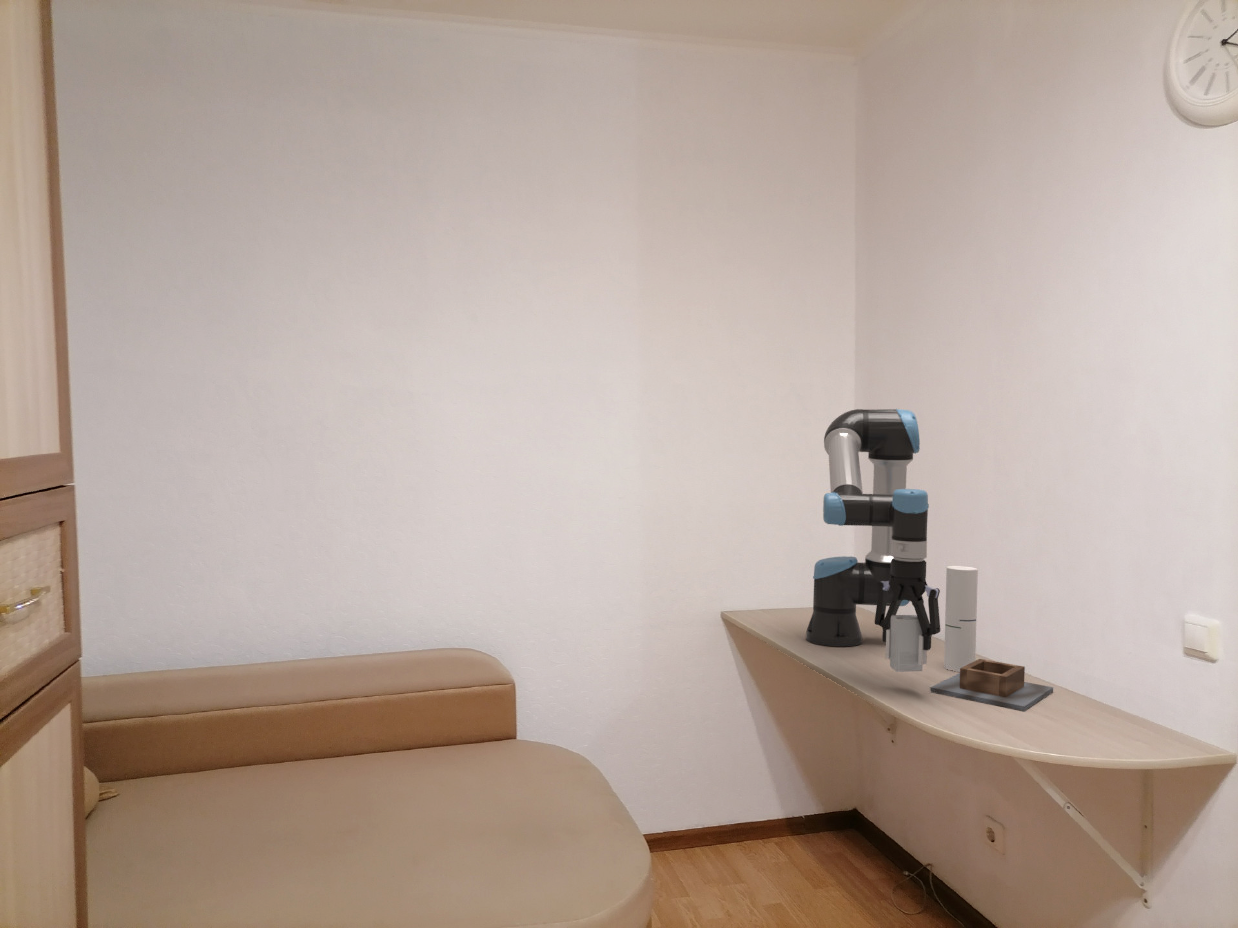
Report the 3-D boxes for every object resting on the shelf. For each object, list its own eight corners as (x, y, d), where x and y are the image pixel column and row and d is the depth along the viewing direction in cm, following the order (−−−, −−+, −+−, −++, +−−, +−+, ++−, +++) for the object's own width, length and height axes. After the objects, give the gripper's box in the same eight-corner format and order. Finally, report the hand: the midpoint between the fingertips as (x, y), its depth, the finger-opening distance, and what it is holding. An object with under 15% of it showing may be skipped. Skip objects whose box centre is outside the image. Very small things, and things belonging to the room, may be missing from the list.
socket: (930, 691, 197) (930, 667, 197) (964, 674, 212) (964, 652, 212) (1024, 711, 184) (1024, 684, 184) (1053, 691, 199) (1053, 667, 198)
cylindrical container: (977, 673, 213) (980, 570, 213) (946, 671, 215) (949, 569, 214) (972, 665, 220) (974, 566, 220) (941, 664, 222) (944, 565, 221)
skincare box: (914, 666, 200) (916, 613, 199) (923, 672, 195) (924, 618, 195) (888, 667, 199) (889, 614, 199) (896, 672, 195) (897, 618, 194)
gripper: (859, 555, 200) (857, 655, 201) (946, 565, 187) (943, 672, 188) (874, 552, 205) (872, 649, 206) (959, 561, 192) (956, 665, 193)
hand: (905, 660), depth 197 cm, fingers closed on skincare box, 7 cm apart
